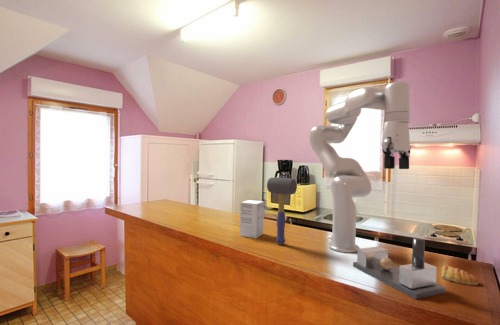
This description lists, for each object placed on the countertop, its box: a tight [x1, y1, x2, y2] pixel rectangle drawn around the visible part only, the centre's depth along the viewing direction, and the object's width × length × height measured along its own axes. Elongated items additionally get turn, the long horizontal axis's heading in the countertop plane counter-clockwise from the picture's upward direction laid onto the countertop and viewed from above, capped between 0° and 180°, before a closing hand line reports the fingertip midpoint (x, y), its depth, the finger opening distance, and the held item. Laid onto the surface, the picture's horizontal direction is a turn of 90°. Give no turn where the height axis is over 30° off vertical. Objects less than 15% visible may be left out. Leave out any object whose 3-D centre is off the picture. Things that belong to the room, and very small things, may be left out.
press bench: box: [352, 246, 447, 300], centre depth 86 cm, size 24×12×6 cm, turn 21°
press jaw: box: [399, 237, 438, 289], centre depth 78 cm, size 4×10×13 cm, turn 111°
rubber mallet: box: [266, 176, 298, 246], centre depth 119 cm, size 12×8×30 cm, turn 56°
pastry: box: [441, 265, 479, 286], centre depth 85 cm, size 9×7×4 cm
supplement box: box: [239, 199, 265, 239], centre depth 134 cm, size 10×9×17 cm
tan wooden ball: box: [380, 257, 395, 270], centre depth 89 cm, size 4×4×4 cm
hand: (396, 168), depth 91 cm, fingers open, 9 cm apart
